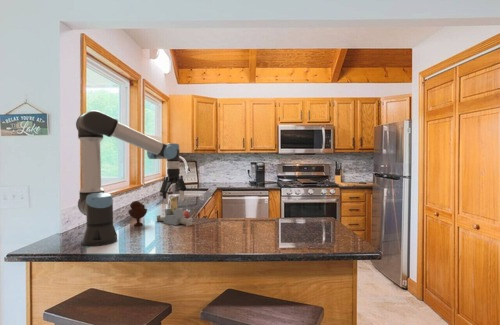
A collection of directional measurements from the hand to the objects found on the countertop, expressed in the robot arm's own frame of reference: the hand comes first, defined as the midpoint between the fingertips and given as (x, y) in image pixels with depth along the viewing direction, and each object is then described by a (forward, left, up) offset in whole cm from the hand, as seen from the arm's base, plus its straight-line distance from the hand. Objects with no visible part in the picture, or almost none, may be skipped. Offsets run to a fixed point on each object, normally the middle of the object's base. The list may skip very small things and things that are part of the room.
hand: (173, 202), depth 189 cm
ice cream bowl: (-15, +15, -13) cm, 25 cm away
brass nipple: (0, 0, -9) cm, 9 cm away
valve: (+3, 0, -13) cm, 13 cm away
